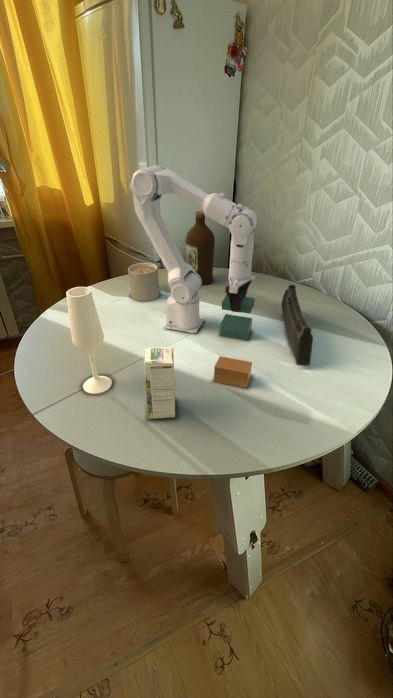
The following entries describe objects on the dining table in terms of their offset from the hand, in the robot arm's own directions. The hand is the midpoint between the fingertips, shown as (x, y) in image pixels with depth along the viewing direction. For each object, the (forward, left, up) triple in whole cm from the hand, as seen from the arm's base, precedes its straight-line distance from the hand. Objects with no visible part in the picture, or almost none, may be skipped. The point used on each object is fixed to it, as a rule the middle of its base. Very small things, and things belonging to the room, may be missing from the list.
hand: (237, 306), depth 98 cm
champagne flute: (-26, -33, -9) cm, 43 cm away
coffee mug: (-37, +17, -9) cm, 42 cm away
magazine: (+16, +3, -9) cm, 19 cm away
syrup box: (-8, -36, -9) cm, 38 cm away
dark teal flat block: (0, 0, 0) cm, 0 cm away
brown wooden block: (+4, -21, -9) cm, 23 cm away
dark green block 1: (0, 0, -6) cm, 6 cm away
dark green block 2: (0, 0, -9) cm, 9 cm away
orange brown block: (+4, -21, -6) cm, 22 cm away
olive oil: (-22, +34, -9) cm, 42 cm away
